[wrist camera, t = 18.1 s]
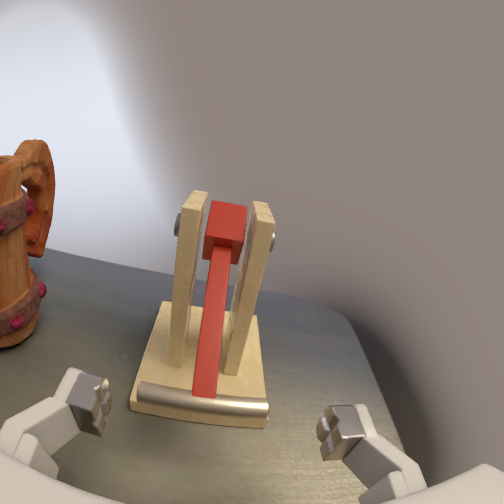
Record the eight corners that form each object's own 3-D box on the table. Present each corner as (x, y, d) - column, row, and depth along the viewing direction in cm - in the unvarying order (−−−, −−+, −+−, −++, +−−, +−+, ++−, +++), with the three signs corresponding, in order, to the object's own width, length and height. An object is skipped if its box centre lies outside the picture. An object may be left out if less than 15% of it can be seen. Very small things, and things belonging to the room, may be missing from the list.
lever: (260, 421, 13) (273, 418, 11) (140, 404, 12) (132, 399, 10) (268, 235, 20) (277, 211, 18) (180, 220, 19) (181, 194, 17)
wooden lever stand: (264, 428, 17) (332, 259, 12) (130, 410, 16) (119, 223, 11) (254, 325, 28) (286, 196, 23) (162, 310, 27) (175, 176, 22)
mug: (19, 378, 14) (-27, 161, 9) (-45, 346, 13) (-85, 163, 7) (83, 282, 28) (85, 137, 22) (27, 269, 26) (22, 136, 21)
